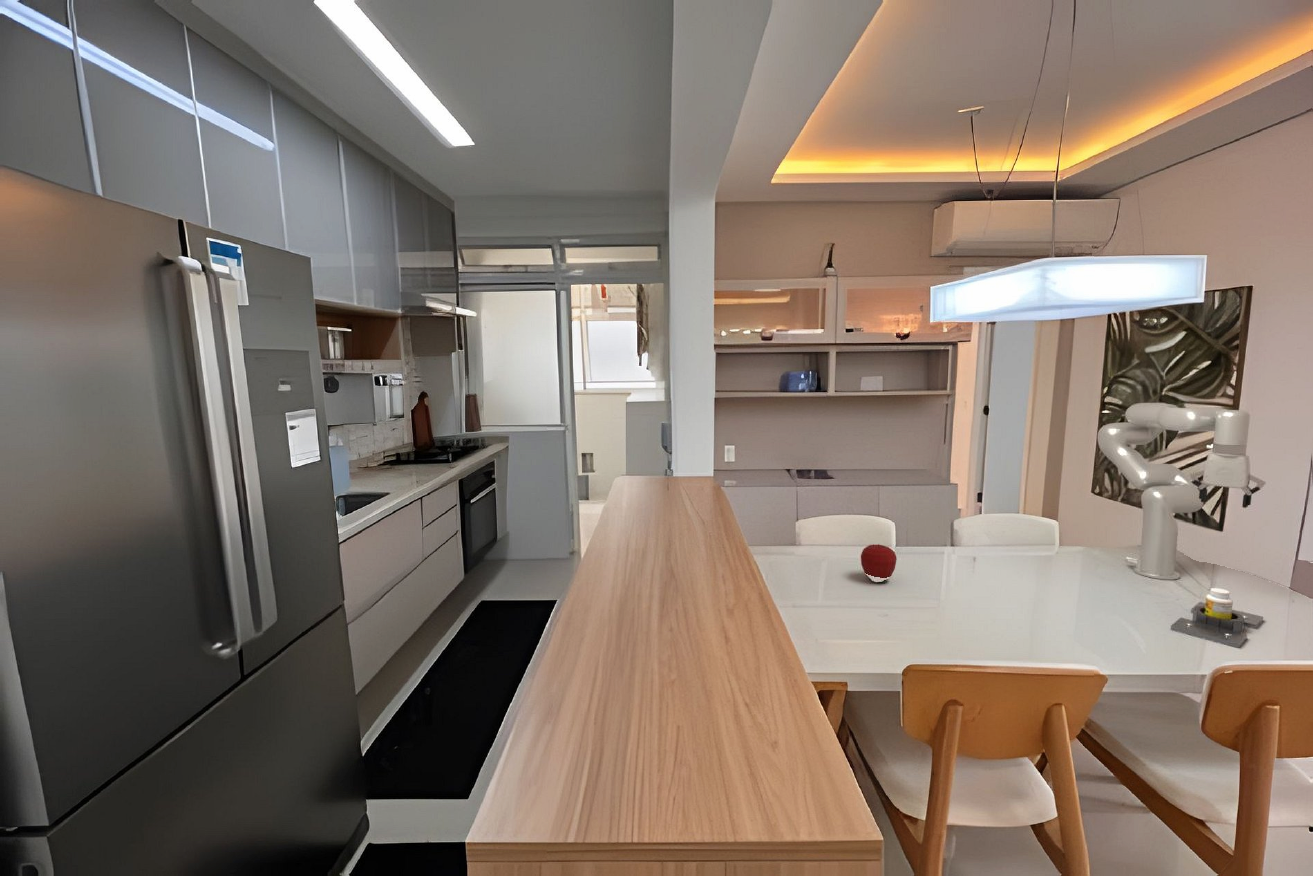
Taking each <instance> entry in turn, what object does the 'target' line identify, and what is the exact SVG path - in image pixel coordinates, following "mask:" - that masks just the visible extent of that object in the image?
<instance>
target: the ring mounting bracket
mask: <svg viewBox="0 0 1313 876" xmlns="http://www.w3.org/2000/svg"><path fill="white" fill-rule="evenodd" d="M1205 604H1206V602H1202V601H1199V602H1198V603H1196V605H1194V606H1193V607H1192V608H1191V609H1190V613H1191V614H1192V619H1187V618H1183V617H1179V618H1178V619H1177V620H1176V621H1174V622H1173V623H1172V624H1171V625H1170V630H1171V629H1172V630H1171V631H1173V630H1174V631H1175V632H1177V631H1179V632H1178V633H1181V632H1182V633H1181V634H1184V633H1185V635H1188V634H1190V635H1189V636H1192V635H1193V636H1192V637H1196V636H1197V637H1196V638H1199V637H1200V638H1199V639H1203V638H1205V639H1204V640H1207V639H1208V640H1207V641H1210V640H1213V641H1212V642H1214V641H1215V643H1218V642H1220V643H1219V644H1221V643H1222V644H1223V645H1225V646H1229V647H1233V648H1237V649H1240V647H1241V646H1242V645H1243V644H1244V643H1245V642H1246V640H1247V639H1248V634H1247V633H1243V631H1244V629H1245V627H1246V628H1250V629H1254V630H1256V629H1257V628H1258V627H1259V626H1260V625H1261V624H1262V623H1263V622H1264V616H1261V615H1257V614H1253V613H1250V612H1244V611H1240V610H1236V609H1232V615H1231V619H1222V618H1217V617H1213V616H1209V615H1207V614H1205ZM1192 620H1193V621H1192ZM1241 632H1242V633H1241ZM1222 644H1221V645H1222Z"/></svg>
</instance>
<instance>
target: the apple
mask: <svg viewBox="0 0 1313 876" xmlns="http://www.w3.org/2000/svg"><path fill="white" fill-rule="evenodd" d="M897 559H898V558H897V554H896V552H895V550H893V549H892V548H890V547H889V546H887V545H882V544H880V543H878V544H869V545H867V546H866V547H864V548H863V549H862V551H861V554H860V564H861V567H862V570H863V572H864V574H865V573H866V574H868V575H871V576H874V577H880V578H887V577H890V576H891V577H892V575H893V573H894V572H895V569H896V565H897V561H898V560H897ZM891 577H890V578H891Z"/></svg>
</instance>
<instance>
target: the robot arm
mask: <svg viewBox="0 0 1313 876" xmlns="http://www.w3.org/2000/svg"><path fill="white" fill-rule="evenodd" d="M1124 414H1125V419H1126V421H1127V422H1113V423H1112V422H1111V423H1108V424H1107V423H1106V424H1105V425H1103V426H1102V427H1101V428H1099V430H1098V432H1097V444H1098V447H1099V449H1100V451H1101V452H1102V453H1103V454H1104V456H1106V458H1107V459H1108V460H1109V461H1110V462H1111V463H1113V464H1114V465H1115V466H1116V468H1117V469H1118V470H1119V472H1120V473H1121V474H1122V475H1123V476H1124V478H1126V480H1127V481H1128V482H1129V483H1130V485H1131V486H1133V487H1134V488H1135V489H1137V490H1141V491H1143V492H1142V494H1141V497H1140V498H1141V499H1140V500H1141V501H1140V502H1141V508H1142V514H1143V515H1142V533H1141V543H1140V544H1141V545H1140V554H1139V555H1140V556H1139V557H1131V556H1127V555H1126V556H1125V559H1124V560H1125V563H1127V564H1131V565H1135V566H1133V571H1134V572H1135V573H1136V574H1138V575H1141V576H1143V577H1148V578H1150V579H1151V578H1152V579H1157V580H1165V581H1166V580H1170V581H1171V580H1172V581H1173V580H1179V579H1180V576H1181V574H1180V573H1179V572H1178V571H1176V570H1175V568H1176V567H1175V565H1176V556H1177V545H1178V535H1179V526H1178V522H1177V520H1176V519H1175V516H1174V514H1188V513H1189V514H1190V513H1195V512H1197V511H1199V510H1201V509H1202V507H1203V506H1204V503H1205V502H1207V498H1208V488H1207V487H1209V486H1214V487H1224V488H1232V489H1241V490H1242V491H1243V492H1244V494H1243V495H1242V506H1241V507H1242V508H1243V509H1246V508H1248V506H1251V503H1252V495H1254V494H1255V493H1257V492H1258V491H1260V490H1261V489H1262V488H1263V487H1264V486H1265V485H1266V484H1267V482H1266V481H1265V480H1264V479H1263V480H1262V479H1261V478H1258V477H1256V476H1254V475H1252V474H1251V463H1250V457H1249V455H1247V448H1248V439H1249V437H1248V436H1249V428H1250V427H1249V426H1250V419H1251V417H1250V416H1251V415H1250V413H1249V412H1248V411H1246V410H1239V409H1227V408H1221V407H1191V408H1190V407H1178V406H1177V405H1175V404H1169V403H1166V402H1139V403H1134V404H1132V405H1130V407H1128V408H1127V409H1126V411H1125V413H1124ZM1165 430H1167V431H1176V432H1177V431H1178V432H1187V433H1188V432H1191V433H1193V432H1214V433H1213V443H1212V444H1207V445H1206V450H1211V452H1209V453H1208V455H1207V458H1206V461H1205V465H1204V470H1202V471H1198V472H1193V473H1190V474H1189V478H1190V479H1191V480H1190V479H1189V478H1188V476H1186V474H1184V472H1183V471H1181V469H1179V468H1178V467H1177V466H1176V465H1173V464H1170V463H1151V462H1149V461H1147V459H1145V458H1144V457H1143V455H1142V454H1141V453H1140V452H1138V451H1137V450H1135V449H1134V448H1132V447H1131V446H1135V445H1137V446H1139V445H1140V446H1141V445H1142V446H1143V445H1146V444H1149V443H1151V442H1152V441H1154V440H1155V439H1156V438H1157V437H1159V435H1160V434H1161V433H1163V431H1165ZM1200 476H1202V477H1203V478H1202V482H1203V483H1202V482H1201V481H1200V480H1199V479H1198V477H1200ZM1250 481H1252V483H1256V485H1255V486H1254V487H1253V488H1251V487H1250V486H1249V485H1250Z"/></svg>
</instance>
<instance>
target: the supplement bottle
mask: <svg viewBox="0 0 1313 876" xmlns="http://www.w3.org/2000/svg"><path fill="white" fill-rule="evenodd" d="M1230 594H1231V593H1230V591H1229V590H1226V589H1224V588H1218V587H1217V588H1215V587H1212V588H1210V592H1209V594H1206V597H1205V603H1206V604H1205V614H1207V615H1209V616H1213V617H1217V618H1222V619H1231V615H1232V610H1233V604H1234V603H1233V602H1234V601H1233V599H1232V598H1231V597H1230Z"/></svg>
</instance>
